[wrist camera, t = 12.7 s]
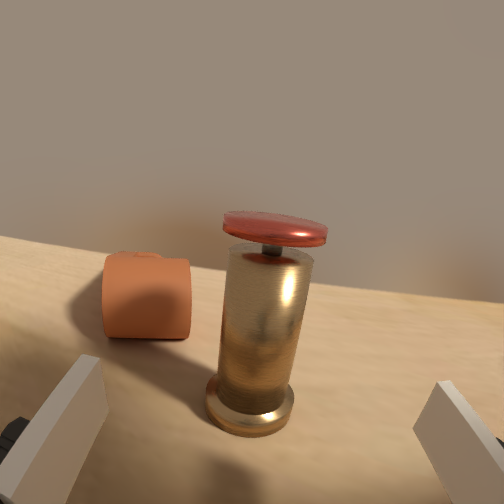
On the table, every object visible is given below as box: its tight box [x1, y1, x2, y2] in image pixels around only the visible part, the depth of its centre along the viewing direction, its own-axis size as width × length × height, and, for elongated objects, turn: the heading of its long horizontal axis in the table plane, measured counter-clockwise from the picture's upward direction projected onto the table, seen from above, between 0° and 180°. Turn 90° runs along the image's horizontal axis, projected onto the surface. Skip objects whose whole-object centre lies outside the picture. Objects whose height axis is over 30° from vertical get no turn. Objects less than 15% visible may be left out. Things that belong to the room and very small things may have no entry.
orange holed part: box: [102, 251, 192, 338], centre depth 35 cm, size 20×8×8 cm, turn 18°
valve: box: [205, 211, 328, 438], centre depth 20 cm, size 6×6×14 cm
